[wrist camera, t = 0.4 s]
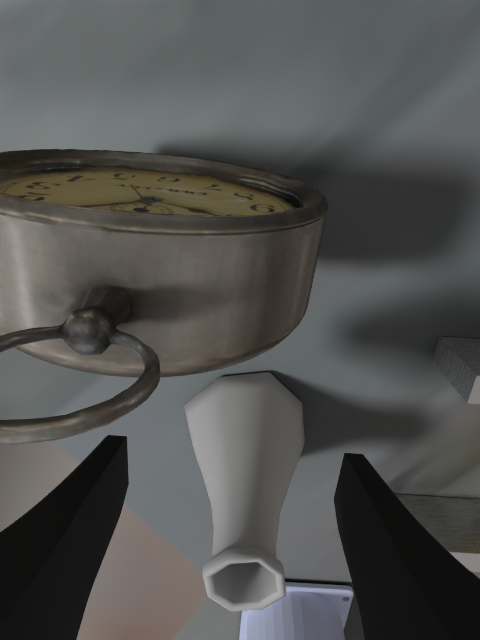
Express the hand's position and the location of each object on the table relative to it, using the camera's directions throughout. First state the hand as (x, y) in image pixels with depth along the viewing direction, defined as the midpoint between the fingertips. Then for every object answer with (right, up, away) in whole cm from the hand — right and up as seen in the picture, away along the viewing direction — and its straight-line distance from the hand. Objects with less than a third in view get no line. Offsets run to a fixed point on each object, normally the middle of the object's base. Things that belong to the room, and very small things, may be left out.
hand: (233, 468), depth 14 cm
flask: (+1, -1, +11) cm, 11 cm away
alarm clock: (-3, +10, +6) cm, 12 cm away
